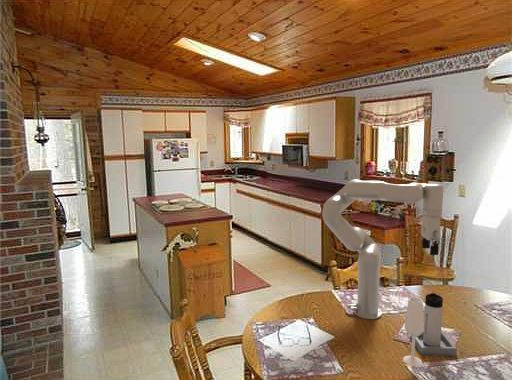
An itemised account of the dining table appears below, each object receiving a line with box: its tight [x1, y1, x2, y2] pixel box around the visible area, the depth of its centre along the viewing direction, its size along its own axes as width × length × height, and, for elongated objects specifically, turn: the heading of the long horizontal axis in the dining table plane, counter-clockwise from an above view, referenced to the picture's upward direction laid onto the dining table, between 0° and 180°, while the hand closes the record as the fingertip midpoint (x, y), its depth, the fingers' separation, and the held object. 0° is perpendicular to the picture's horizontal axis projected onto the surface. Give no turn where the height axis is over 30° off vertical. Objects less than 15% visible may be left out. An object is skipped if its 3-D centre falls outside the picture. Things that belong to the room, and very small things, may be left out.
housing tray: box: [409, 330, 458, 357], centre depth 153 cm, size 13×13×3 cm
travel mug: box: [423, 292, 444, 347], centre depth 152 cm, size 6×7×20 cm
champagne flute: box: [402, 296, 424, 367], centre depth 142 cm, size 7×7×24 cm
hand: (429, 251), depth 168 cm, fingers open, 9 cm apart
